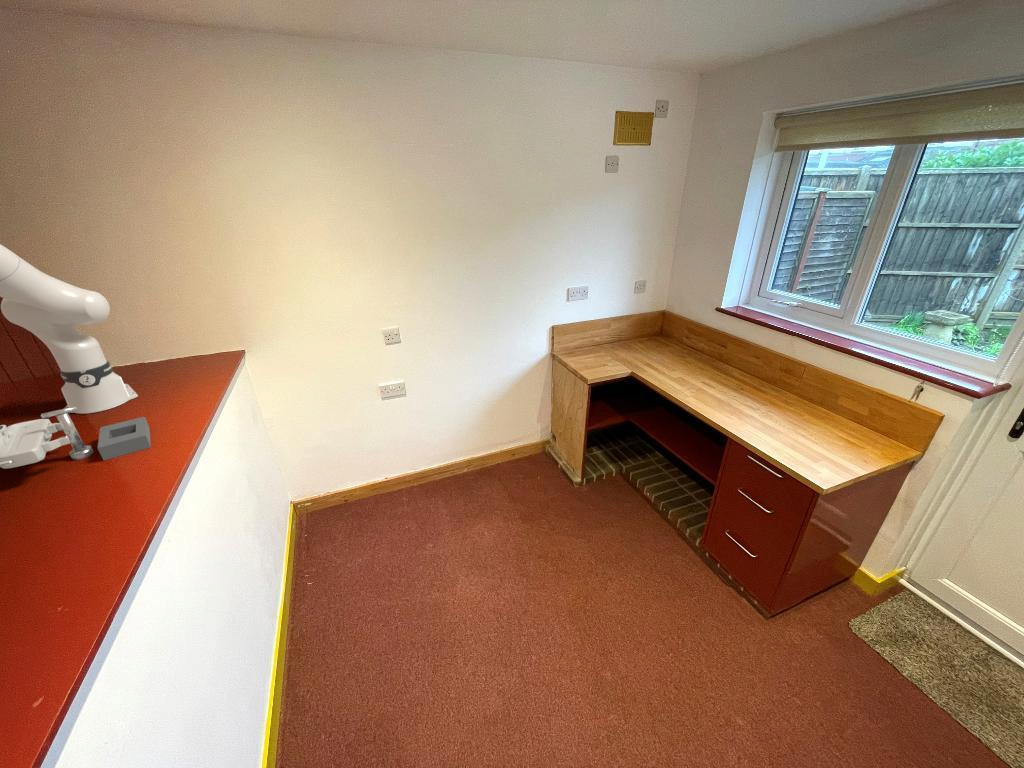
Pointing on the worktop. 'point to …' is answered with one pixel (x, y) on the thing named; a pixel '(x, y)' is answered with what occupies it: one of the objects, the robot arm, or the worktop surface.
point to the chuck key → (71, 433)
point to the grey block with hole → (124, 438)
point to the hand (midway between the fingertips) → (71, 431)
